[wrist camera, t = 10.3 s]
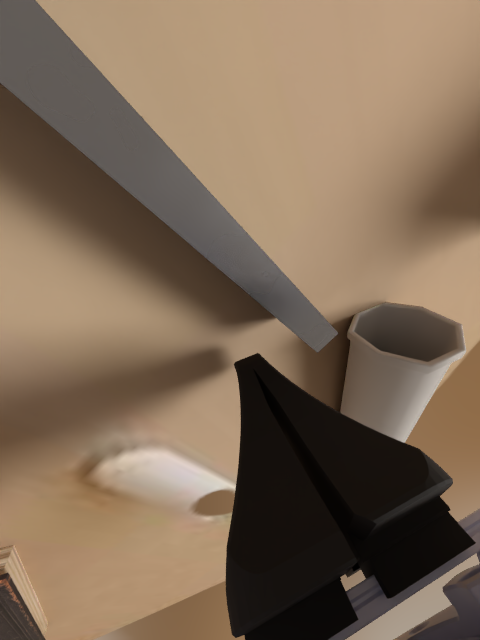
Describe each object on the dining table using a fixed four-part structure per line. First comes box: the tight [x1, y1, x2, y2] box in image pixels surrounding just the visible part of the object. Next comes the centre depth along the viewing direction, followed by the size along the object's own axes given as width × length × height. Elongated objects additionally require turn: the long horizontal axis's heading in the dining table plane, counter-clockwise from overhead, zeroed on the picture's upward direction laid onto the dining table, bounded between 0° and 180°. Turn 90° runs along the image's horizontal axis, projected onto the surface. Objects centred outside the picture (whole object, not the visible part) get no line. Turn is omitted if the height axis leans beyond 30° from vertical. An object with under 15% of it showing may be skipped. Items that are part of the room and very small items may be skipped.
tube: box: [340, 302, 466, 443], centre depth 19 cm, size 5×5×25 cm
